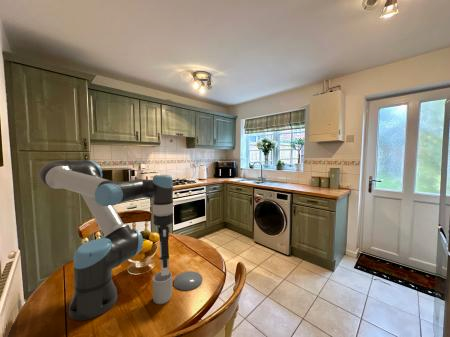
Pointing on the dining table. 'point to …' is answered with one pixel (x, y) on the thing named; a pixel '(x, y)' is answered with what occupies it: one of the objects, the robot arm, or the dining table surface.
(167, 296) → the cup
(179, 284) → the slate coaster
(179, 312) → the dining table surface
